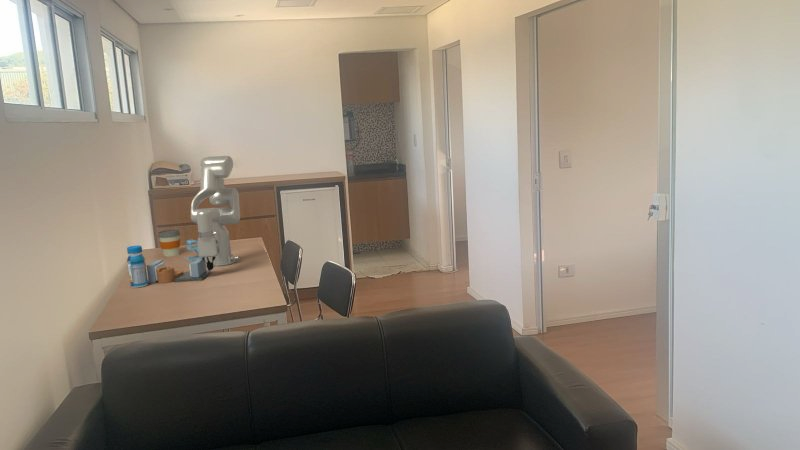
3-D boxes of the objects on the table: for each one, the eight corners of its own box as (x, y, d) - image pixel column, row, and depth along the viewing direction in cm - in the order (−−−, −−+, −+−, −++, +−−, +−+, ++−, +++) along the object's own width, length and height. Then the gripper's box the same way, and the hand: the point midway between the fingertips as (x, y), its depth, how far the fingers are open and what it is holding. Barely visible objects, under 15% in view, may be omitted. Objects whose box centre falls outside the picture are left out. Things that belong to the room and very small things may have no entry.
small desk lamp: (203, 258, 367) (201, 239, 365) (189, 261, 363) (187, 241, 361) (200, 257, 374) (197, 237, 372) (186, 259, 369) (183, 239, 367)
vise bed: (211, 272, 328) (210, 270, 328) (201, 280, 313) (201, 277, 312) (185, 274, 329) (185, 271, 328) (174, 282, 313) (174, 279, 313)
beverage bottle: (140, 288, 304) (134, 248, 301) (126, 287, 307) (121, 248, 304) (152, 283, 312) (147, 245, 309) (139, 283, 315) (133, 244, 312)
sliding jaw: (206, 270, 327) (205, 257, 326) (198, 276, 314) (197, 263, 313) (198, 271, 327) (196, 258, 326) (190, 277, 314) (188, 263, 313)
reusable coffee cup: (174, 252, 394) (171, 229, 391) (186, 253, 386) (183, 230, 384) (156, 256, 384) (153, 232, 381) (168, 258, 376) (165, 233, 374)
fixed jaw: (166, 276, 327) (164, 259, 326) (157, 282, 314) (155, 265, 313) (158, 276, 327) (156, 260, 326) (148, 283, 314) (146, 265, 313)
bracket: (170, 283, 311) (169, 270, 310) (155, 284, 312) (153, 270, 311) (186, 274, 329) (185, 262, 328) (171, 275, 330) (170, 262, 329)
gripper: (223, 232, 321) (226, 267, 324) (194, 234, 321) (198, 268, 324) (219, 235, 313) (223, 270, 316) (189, 236, 313) (193, 272, 316)
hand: (210, 269), depth 320 cm, fingers closed
